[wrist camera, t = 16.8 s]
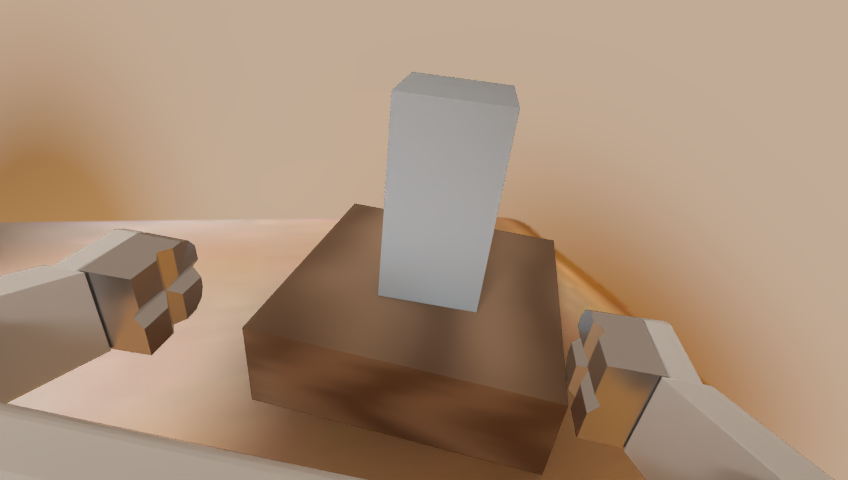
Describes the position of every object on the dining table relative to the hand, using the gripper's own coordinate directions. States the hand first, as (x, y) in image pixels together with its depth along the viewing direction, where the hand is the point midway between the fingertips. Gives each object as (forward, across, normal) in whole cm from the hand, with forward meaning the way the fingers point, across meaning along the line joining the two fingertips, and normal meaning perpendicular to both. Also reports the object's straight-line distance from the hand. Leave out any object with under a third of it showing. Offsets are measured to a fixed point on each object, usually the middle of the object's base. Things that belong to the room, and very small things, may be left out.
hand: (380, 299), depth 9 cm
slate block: (+13, 0, +8) cm, 15 cm away
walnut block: (+13, 0, +13) cm, 18 cm away
